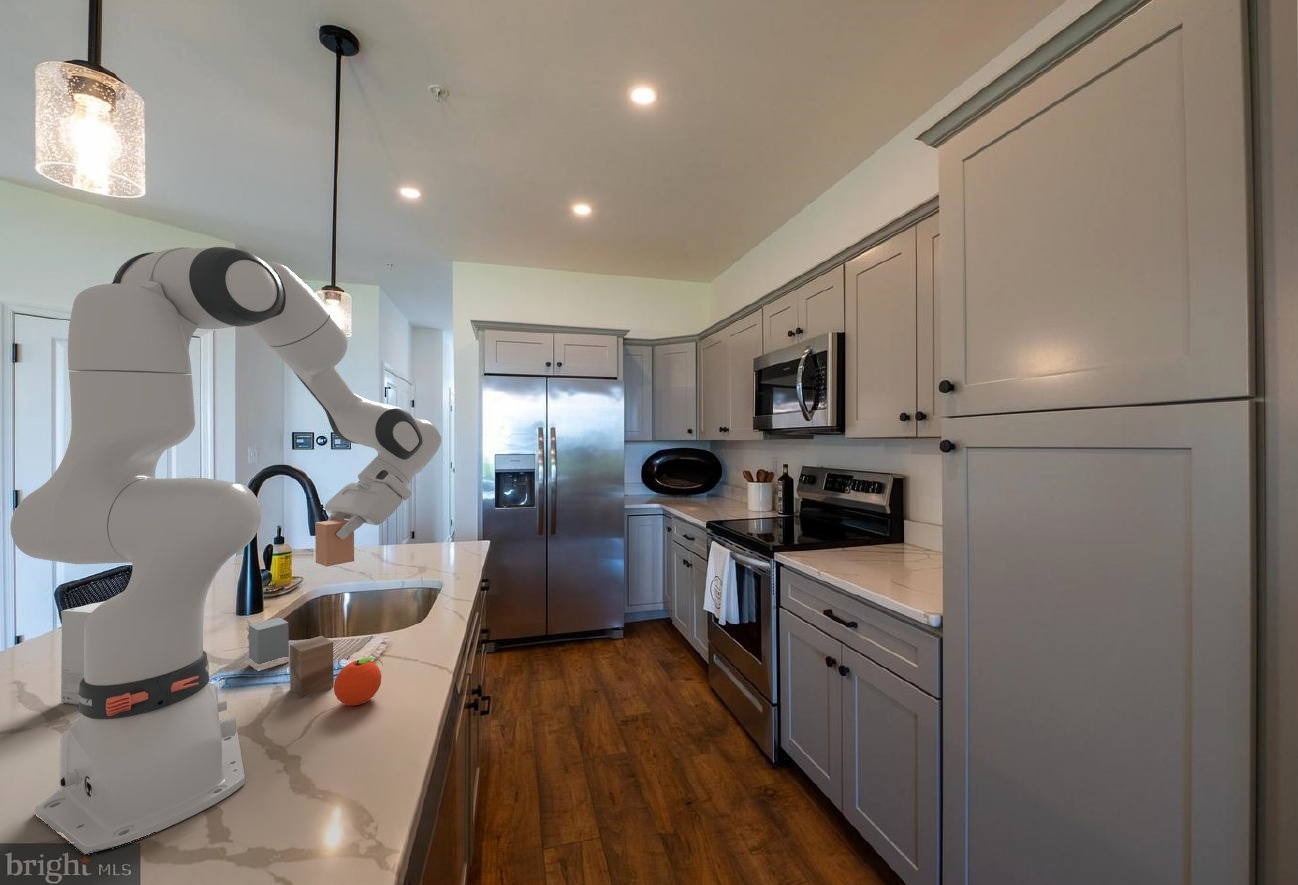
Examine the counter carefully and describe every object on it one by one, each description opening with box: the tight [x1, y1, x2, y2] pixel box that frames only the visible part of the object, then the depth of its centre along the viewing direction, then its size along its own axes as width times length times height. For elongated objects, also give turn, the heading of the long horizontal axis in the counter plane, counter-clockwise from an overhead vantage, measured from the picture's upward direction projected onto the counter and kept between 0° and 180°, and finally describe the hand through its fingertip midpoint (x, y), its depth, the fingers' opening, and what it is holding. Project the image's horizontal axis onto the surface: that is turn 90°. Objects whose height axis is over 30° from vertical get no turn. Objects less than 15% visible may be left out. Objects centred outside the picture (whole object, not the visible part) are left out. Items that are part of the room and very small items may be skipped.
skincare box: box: [60, 600, 106, 706], centre depth 87 cm, size 8×7×16 cm
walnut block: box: [289, 635, 335, 699], centre depth 88 cm, size 5×5×8 cm
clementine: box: [333, 657, 383, 707], centre depth 84 cm, size 8×7×7 cm
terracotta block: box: [314, 519, 355, 567], centre depth 99 cm, size 5×5×8 cm
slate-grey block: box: [248, 617, 290, 664], centre depth 98 cm, size 5×5×8 cm
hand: (331, 535), depth 98 cm, fingers closed on terracotta block, 5 cm apart
